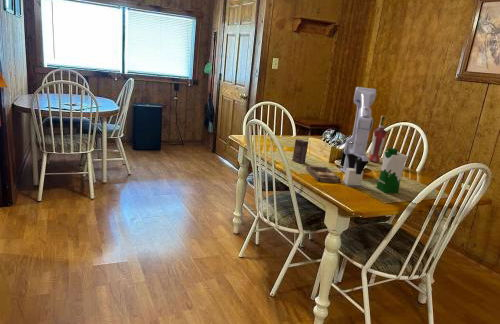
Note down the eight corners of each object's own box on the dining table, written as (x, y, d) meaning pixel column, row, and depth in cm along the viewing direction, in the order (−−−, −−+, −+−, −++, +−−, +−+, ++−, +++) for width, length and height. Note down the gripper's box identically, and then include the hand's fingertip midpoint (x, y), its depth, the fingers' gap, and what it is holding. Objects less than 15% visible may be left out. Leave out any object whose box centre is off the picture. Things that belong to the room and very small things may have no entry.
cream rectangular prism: (356, 182, 175) (359, 168, 173) (360, 185, 171) (363, 171, 169) (343, 181, 173) (346, 167, 171) (346, 184, 169) (349, 170, 168)
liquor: (367, 158, 227) (376, 114, 219) (379, 160, 225) (389, 116, 217) (367, 161, 220) (377, 115, 212) (380, 163, 218) (390, 117, 211)
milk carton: (373, 187, 172) (382, 146, 167) (389, 187, 175) (398, 147, 169) (384, 194, 164) (394, 151, 159) (401, 194, 167) (411, 152, 161)
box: (305, 162, 200) (308, 141, 197) (299, 163, 197) (303, 142, 194) (297, 159, 205) (300, 138, 201) (291, 160, 202) (295, 139, 198)
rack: (326, 170, 189) (326, 167, 189) (339, 182, 172) (340, 178, 172) (305, 169, 187) (306, 165, 187) (318, 181, 170) (318, 177, 170)
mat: (356, 182, 176) (356, 181, 176) (363, 187, 170) (363, 186, 169) (341, 181, 175) (341, 180, 174) (347, 186, 168) (347, 185, 168)
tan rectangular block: (332, 178, 178) (333, 173, 177) (334, 181, 174) (335, 175, 173) (316, 177, 177) (317, 171, 176) (318, 180, 173) (319, 174, 172)
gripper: (345, 139, 173) (340, 166, 176) (359, 146, 159) (353, 176, 163) (359, 140, 174) (353, 167, 178) (374, 148, 160) (367, 177, 164)
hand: (354, 171), depth 170 cm, fingers open, 7 cm apart
